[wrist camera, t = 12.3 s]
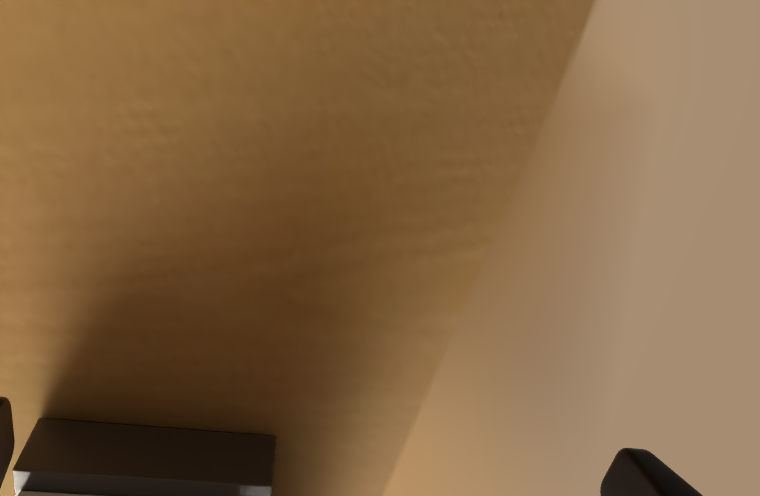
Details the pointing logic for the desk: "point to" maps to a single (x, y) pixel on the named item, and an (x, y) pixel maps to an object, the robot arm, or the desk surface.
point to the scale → (141, 461)
